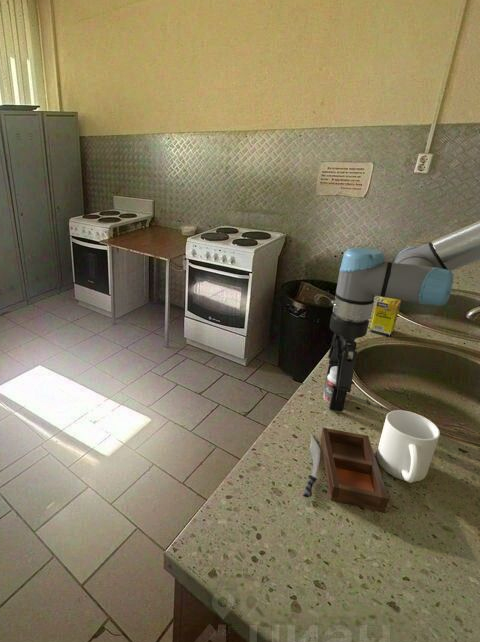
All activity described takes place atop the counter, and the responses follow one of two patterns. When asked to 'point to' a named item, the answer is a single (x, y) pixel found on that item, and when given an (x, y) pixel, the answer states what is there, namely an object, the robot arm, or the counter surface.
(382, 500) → the wooden divided tray
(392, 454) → the mug
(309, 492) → the knife
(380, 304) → the supplement box
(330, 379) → the pill bottle
